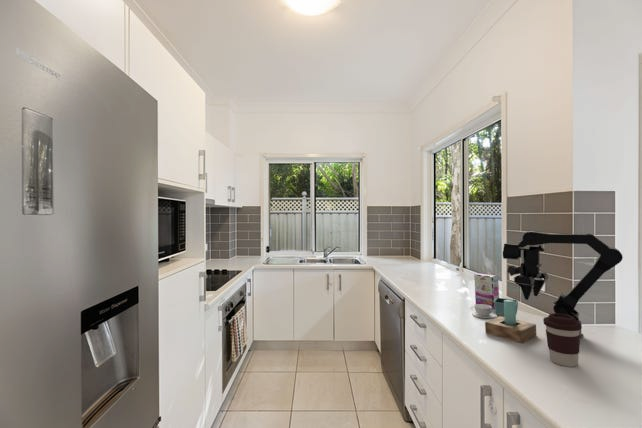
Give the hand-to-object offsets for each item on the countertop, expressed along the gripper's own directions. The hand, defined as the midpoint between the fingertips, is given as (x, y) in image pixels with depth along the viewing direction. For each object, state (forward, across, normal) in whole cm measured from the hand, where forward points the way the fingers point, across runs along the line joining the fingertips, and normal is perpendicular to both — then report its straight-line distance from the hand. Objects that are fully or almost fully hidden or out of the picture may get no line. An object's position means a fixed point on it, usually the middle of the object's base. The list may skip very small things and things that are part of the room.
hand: (531, 297), depth 132 cm
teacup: (+14, -4, -22) cm, 26 cm away
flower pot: (+14, -4, -11) cm, 18 cm away
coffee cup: (+13, +25, +19) cm, 34 cm away
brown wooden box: (+13, +12, -3) cm, 18 cm away
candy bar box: (+14, -22, -29) cm, 39 cm away
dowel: (+13, +12, -3) cm, 18 cm away
